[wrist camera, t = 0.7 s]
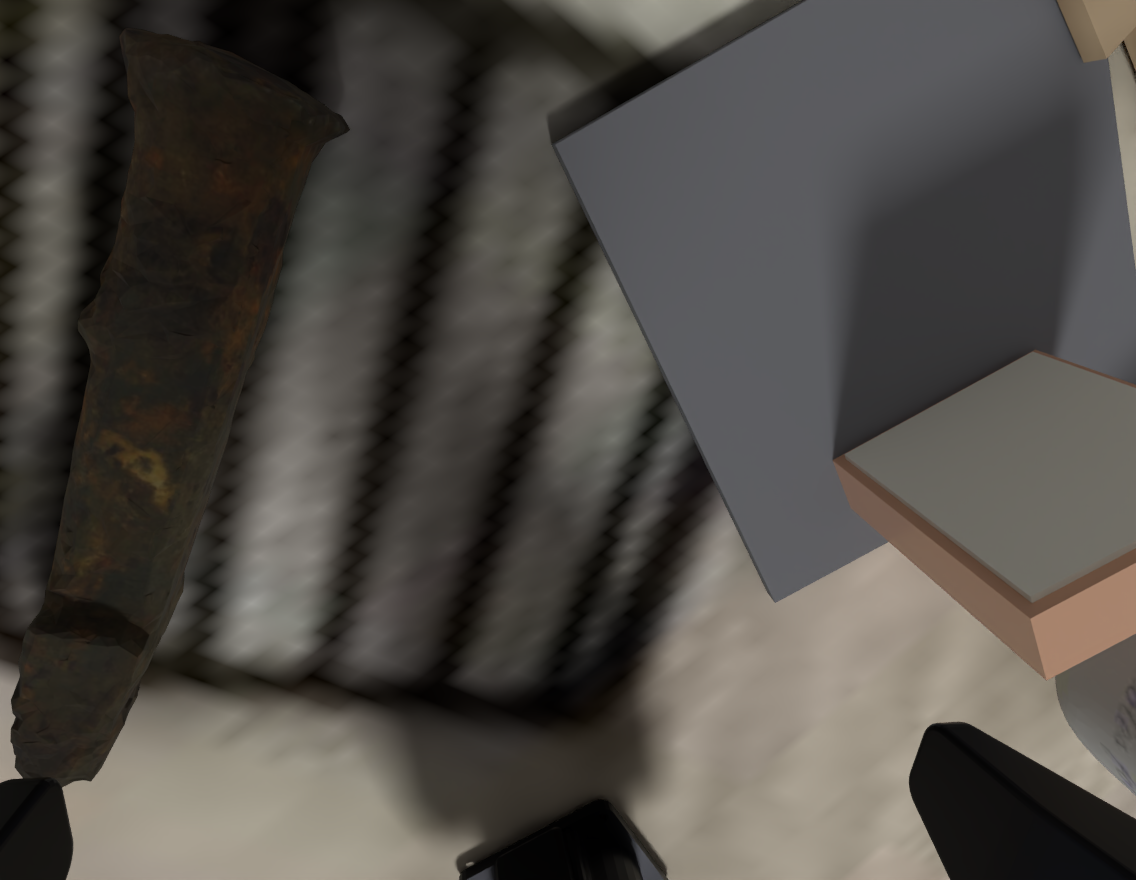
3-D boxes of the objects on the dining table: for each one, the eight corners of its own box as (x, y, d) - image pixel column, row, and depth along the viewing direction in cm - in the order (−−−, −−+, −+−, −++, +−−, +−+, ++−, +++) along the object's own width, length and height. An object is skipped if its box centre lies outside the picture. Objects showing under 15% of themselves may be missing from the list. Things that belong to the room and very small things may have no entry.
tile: (1046, 402, 23) (1338, 527, 15) (850, 508, 23) (1046, 680, 16) (1034, 343, 22) (1339, 447, 14) (830, 455, 22) (1028, 612, 15)
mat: (1136, 393, 24) (1152, 399, 23) (767, 592, 24) (775, 603, 24) (1059, -148, 17) (1080, -156, 17) (551, 144, 18) (555, 144, 17)
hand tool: (180, 25, 16) (86, -16, 11) (359, 113, 17) (334, 105, 13) (5, 680, 21) (-102, 816, 17) (151, 709, 22) (85, 842, 18)
